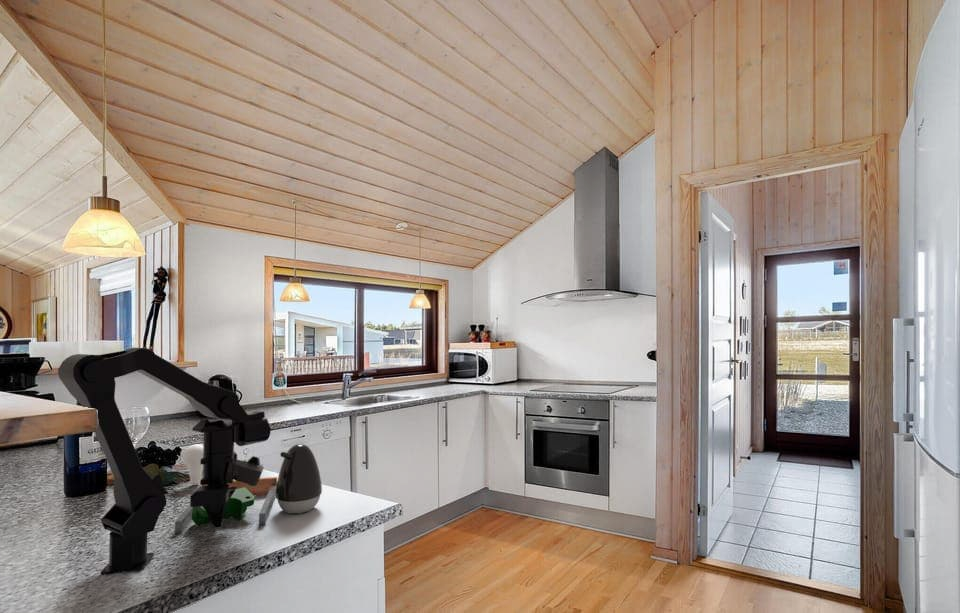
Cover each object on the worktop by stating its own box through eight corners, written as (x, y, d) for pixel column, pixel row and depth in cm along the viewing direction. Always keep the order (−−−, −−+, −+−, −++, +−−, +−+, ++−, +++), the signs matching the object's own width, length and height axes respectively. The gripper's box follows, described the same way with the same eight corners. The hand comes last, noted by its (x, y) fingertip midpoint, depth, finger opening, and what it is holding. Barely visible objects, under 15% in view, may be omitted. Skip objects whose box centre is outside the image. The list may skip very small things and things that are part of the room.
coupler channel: (264, 525, 114) (265, 506, 114) (174, 534, 110) (175, 514, 110) (277, 492, 137) (277, 476, 138) (203, 498, 133) (203, 482, 133)
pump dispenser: (265, 513, 121) (265, 446, 122) (299, 500, 131) (300, 438, 131) (297, 520, 117) (297, 451, 117) (331, 506, 126) (331, 442, 126)
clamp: (209, 549, 113) (196, 517, 109) (198, 535, 117) (185, 504, 113) (262, 514, 120) (251, 483, 117) (250, 502, 124) (239, 472, 121)
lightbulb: (183, 483, 146) (184, 443, 146) (208, 480, 148) (209, 441, 149) (181, 489, 140) (182, 447, 141) (207, 486, 143) (208, 445, 143)
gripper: (253, 458, 103) (253, 540, 102) (266, 439, 121) (266, 508, 120) (189, 462, 100) (189, 547, 99) (212, 442, 118) (212, 513, 117)
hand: (218, 527), depth 109 cm, fingers closed
